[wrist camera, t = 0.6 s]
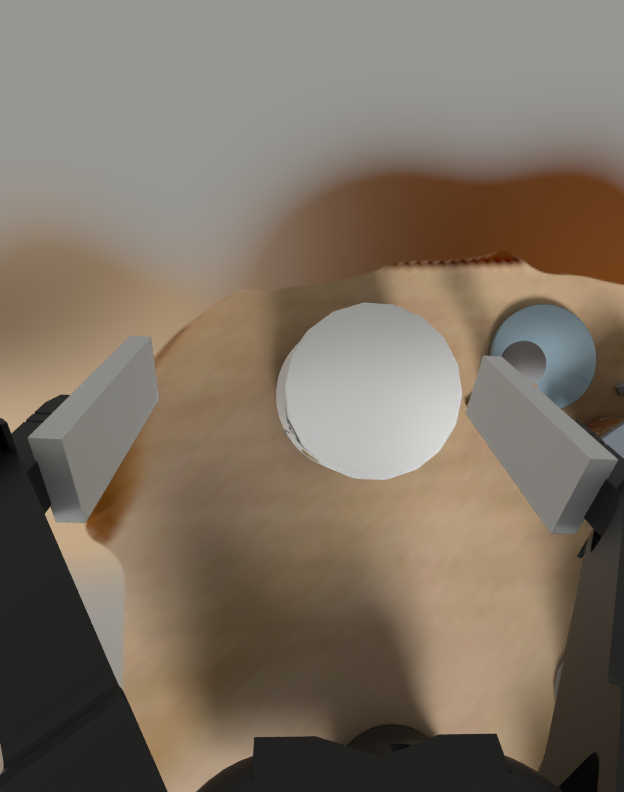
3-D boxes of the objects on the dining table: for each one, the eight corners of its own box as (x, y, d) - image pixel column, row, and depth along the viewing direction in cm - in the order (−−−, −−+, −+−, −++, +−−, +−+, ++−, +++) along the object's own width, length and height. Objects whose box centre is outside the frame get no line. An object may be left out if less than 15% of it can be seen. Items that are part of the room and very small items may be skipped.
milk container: (290, 476, 50) (292, 513, 32) (266, 343, 51) (255, 306, 33) (421, 450, 51) (493, 472, 34) (396, 320, 52) (454, 273, 34)
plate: (608, 374, 53) (615, 373, 52) (526, 430, 52) (532, 431, 51) (552, 287, 53) (558, 284, 52) (469, 342, 52) (473, 340, 51)
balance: (542, 465, 52) (628, 484, 39) (515, 484, 52) (594, 509, 39) (468, 352, 52) (530, 332, 39) (441, 369, 52) (494, 356, 39)
